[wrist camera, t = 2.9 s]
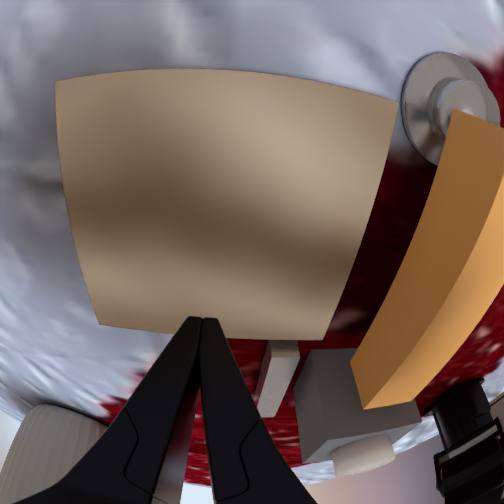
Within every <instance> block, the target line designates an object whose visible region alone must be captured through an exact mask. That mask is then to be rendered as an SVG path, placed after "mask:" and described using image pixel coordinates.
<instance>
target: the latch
mask: <svg viewBox="0 0 504 504" xmlns="http://www.w3.org/2000/svg"><path fill="white" fill-rule="evenodd" d="M503 284H504V128H501V127H499V126H497V125H495V124H492V123H490V122H488V121H485V120H483V119H480V118H478V117H475V116H473V115H470V114H467V113H464V112H462V111H459V110H456V109H453V111H452V115H451V120H450V124H449V128H448V132H447V136H446V140H445V144H444V148H443V151H442V155H441V158H440V162H439V165H438V168H437V171H436V175H435V178H434V181H433V184H432V187H431V190H430V193H429V196H428V199H427V202H426V204H425V207H424V210H423V213H422V215H421V218H420V221H419V223H418V226H417V228H416V231H415V233H414V236H413V238H412V241H411V243H410V245H409V248H408V250H407V252H406V255H405V257H404V259H403V262H402V264H401V266H400V268H399V270H398V273H397V275H396V277H395V279H394V281H393V283H392V285H391V287H390V290H389V292H388V294H387V296H386V298H385V300H384V302H383V304H382V305H381V307H380V309H379V311H378V313H377V315H376V317H375V319H374V321H373V323H372V324H371V326H370V328H369V330H368V332H367V333H366V335H365V337H364V339H363V341H362V342H361V344H360V346H359V347H358V349H357V351H356V353H355V354H354V356H353V358H352V359H351V361H350V364H351V367H352V371H353V374H354V378H355V381H356V385H357V389H358V392H359V396H360V400H361V404H362V407H363V410H364V409H370V408H377V407H383V406H388V405H394V404H399V403H404V402H409V401H412V400H413V399H414V398H415V397H416V396H417V395H418V394H419V393H420V392H421V391H422V390H423V389H424V387H425V386H426V385H427V384H428V383H429V382H430V381H431V380H432V379H433V378H434V377H435V376H436V375H437V373H438V372H439V371H440V370H441V369H442V368H443V367H444V366H445V364H446V363H447V362H448V361H449V360H450V358H451V357H452V356H453V355H454V354H455V352H456V351H457V350H458V349H459V347H460V346H461V345H462V344H463V342H464V341H465V340H466V339H467V337H468V336H469V335H470V333H471V332H472V331H473V329H474V328H475V326H476V325H477V324H478V322H479V321H480V319H481V318H482V317H483V315H484V314H485V312H486V311H487V309H488V308H489V306H490V305H491V303H492V302H493V300H494V299H495V297H496V295H497V294H498V292H499V291H500V289H501V287H502V286H503Z"/></svg>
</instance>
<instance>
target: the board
mask: <svg viewBox="0 0 504 504" xmlns="http://www.w3.org/2000/svg"><path fill="white" fill-rule="evenodd" d="M55 103H56V125H57V139H58V150H59V159H60V167H61V174H62V181H63V188H64V194H65V200H66V205H67V211H68V216H69V221H70V225H71V230H72V234H73V239H74V243H75V247H76V251H77V255H78V259H79V262H80V266H81V270H82V273H83V277H84V280H85V283H86V287H87V290H88V293H89V296H90V299H91V302H92V305H93V308H94V311H95V314H96V317H97V320H98V322H99V324H100V325H106V326H113V327H120V328H128V329H135V330H143V331H152V332H161V333H171V334H175V333H176V332H177V330H178V329H179V328H180V326H181V325H182V324H183V322H184V321H185V319H186V318H187V317H188V316H199V317H202V318H204V317H213V318H217V319H218V320H219V322H220V325H221V327H222V329H223V332H224V334H225V337H226V338H240V339H268V340H323V338H324V336H325V333H326V331H327V329H328V326H329V324H330V322H331V319H332V317H333V315H334V312H335V310H336V307H337V305H338V302H339V300H340V297H341V295H342V292H343V290H344V287H345V285H346V282H347V279H348V277H349V274H350V271H351V269H352V266H353V263H354V261H355V258H356V255H357V252H358V249H359V247H360V244H361V241H362V238H363V235H364V232H365V229H366V226H367V223H368V220H369V217H370V213H371V210H372V207H373V204H374V200H375V197H376V194H377V190H378V187H379V184H380V180H381V176H382V173H383V169H384V165H385V162H386V158H387V154H388V150H389V146H390V142H391V138H392V134H393V129H394V125H395V121H396V116H397V111H398V107H399V103H398V102H395V101H392V100H389V99H385V98H382V97H379V96H375V95H372V94H368V93H365V92H361V91H357V90H353V89H349V88H345V87H341V86H336V85H332V84H327V83H322V82H317V81H312V80H306V79H301V78H295V77H288V76H282V75H274V74H266V73H258V72H248V71H236V70H220V69H147V70H132V71H121V72H111V73H103V74H95V75H88V76H82V77H76V78H70V79H65V80H60V81H55Z"/></svg>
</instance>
